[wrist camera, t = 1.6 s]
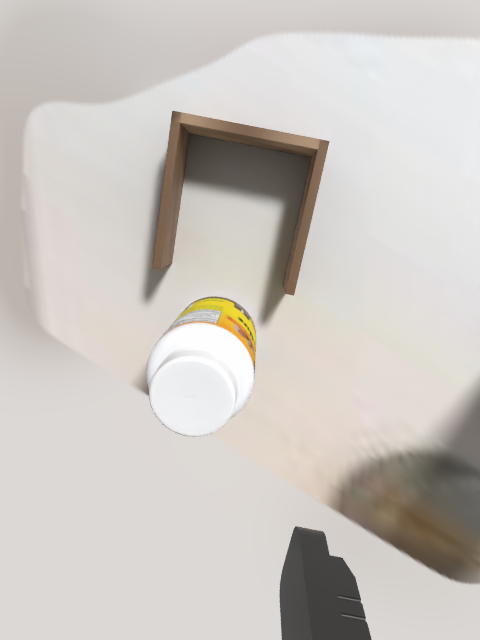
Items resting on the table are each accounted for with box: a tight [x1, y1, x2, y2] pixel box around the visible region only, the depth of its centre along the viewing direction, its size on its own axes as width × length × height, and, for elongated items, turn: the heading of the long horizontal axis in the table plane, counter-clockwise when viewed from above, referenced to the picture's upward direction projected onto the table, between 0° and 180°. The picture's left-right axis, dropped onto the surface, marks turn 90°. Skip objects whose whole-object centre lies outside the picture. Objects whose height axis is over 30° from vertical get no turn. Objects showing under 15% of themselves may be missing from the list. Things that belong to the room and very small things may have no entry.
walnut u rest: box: [152, 111, 329, 295], centre depth 24 cm, size 9×9×3 cm
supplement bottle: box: [146, 296, 256, 437], centre depth 22 cm, size 6×6×10 cm
